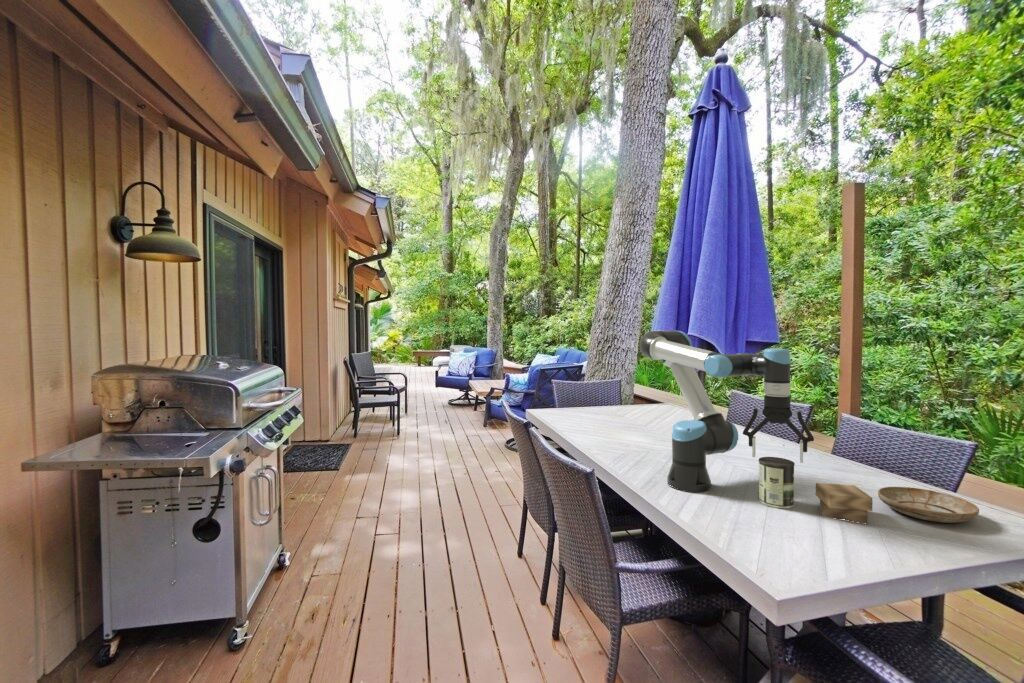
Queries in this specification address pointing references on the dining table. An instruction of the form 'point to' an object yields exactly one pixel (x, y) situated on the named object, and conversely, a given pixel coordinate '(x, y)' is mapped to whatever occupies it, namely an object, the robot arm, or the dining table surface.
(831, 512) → the lower block
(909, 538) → the dining table surface
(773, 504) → the coffee can
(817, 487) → the top block
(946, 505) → the wooden bowl
